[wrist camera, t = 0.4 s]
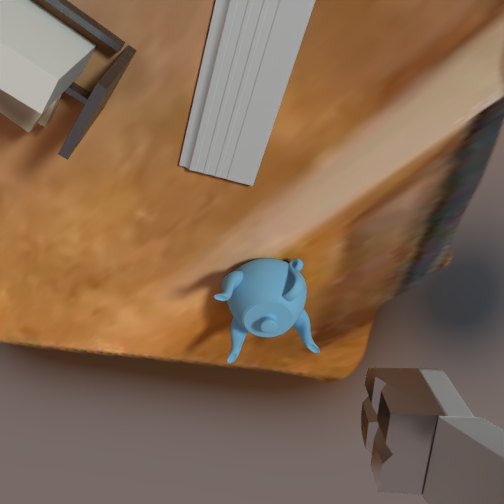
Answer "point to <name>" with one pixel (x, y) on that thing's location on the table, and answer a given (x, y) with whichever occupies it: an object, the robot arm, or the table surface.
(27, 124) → the offcut top
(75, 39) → the off-white wooden block
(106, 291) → the table surface
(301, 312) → the teapot
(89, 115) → the rack
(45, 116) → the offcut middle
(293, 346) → the table surface
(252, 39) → the baseboard molding
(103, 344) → the table surface
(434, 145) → the table surface
